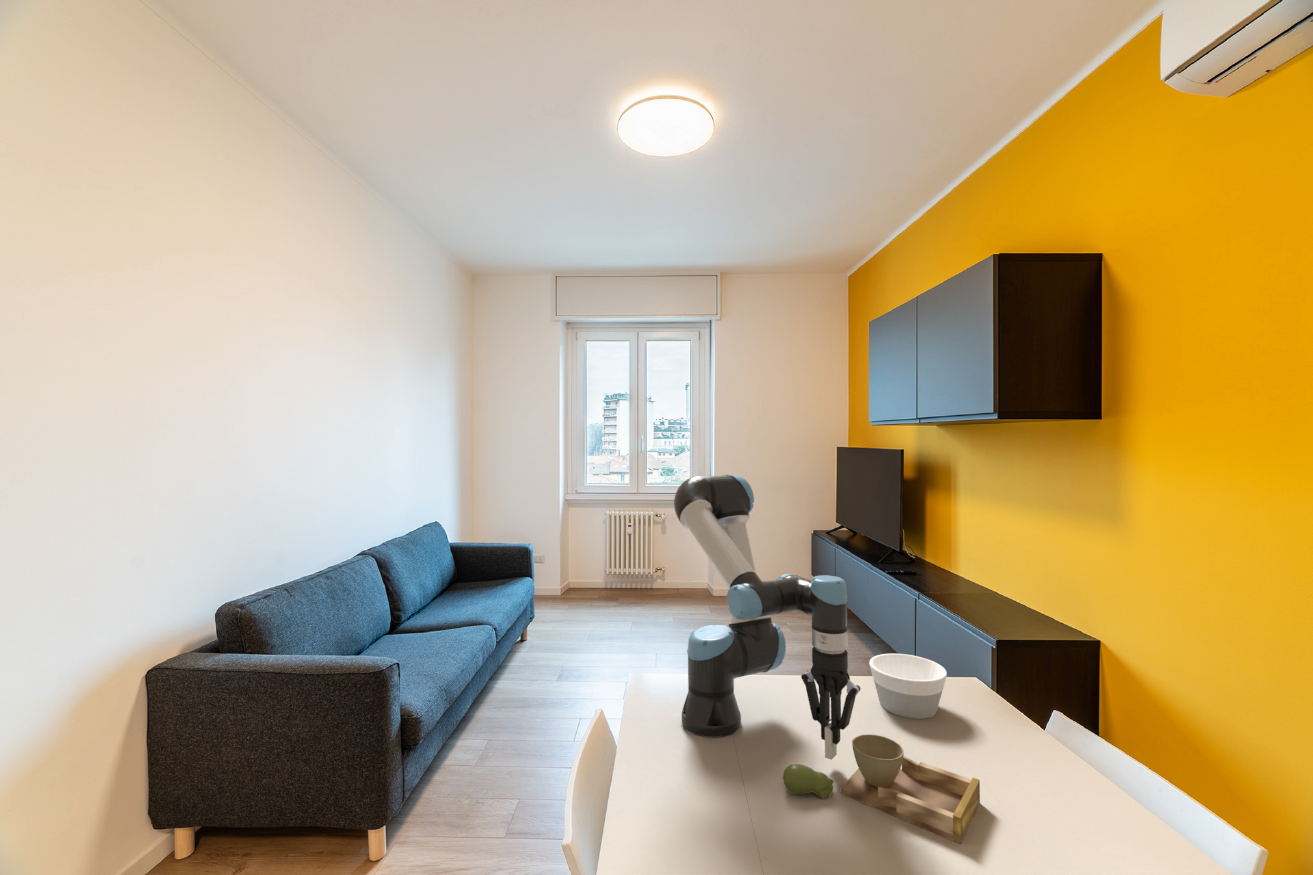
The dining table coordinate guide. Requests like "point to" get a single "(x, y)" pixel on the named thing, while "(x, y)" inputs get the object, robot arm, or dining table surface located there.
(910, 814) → the slot board
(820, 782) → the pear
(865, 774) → the flower pot
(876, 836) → the dining table surface
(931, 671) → the bowl
